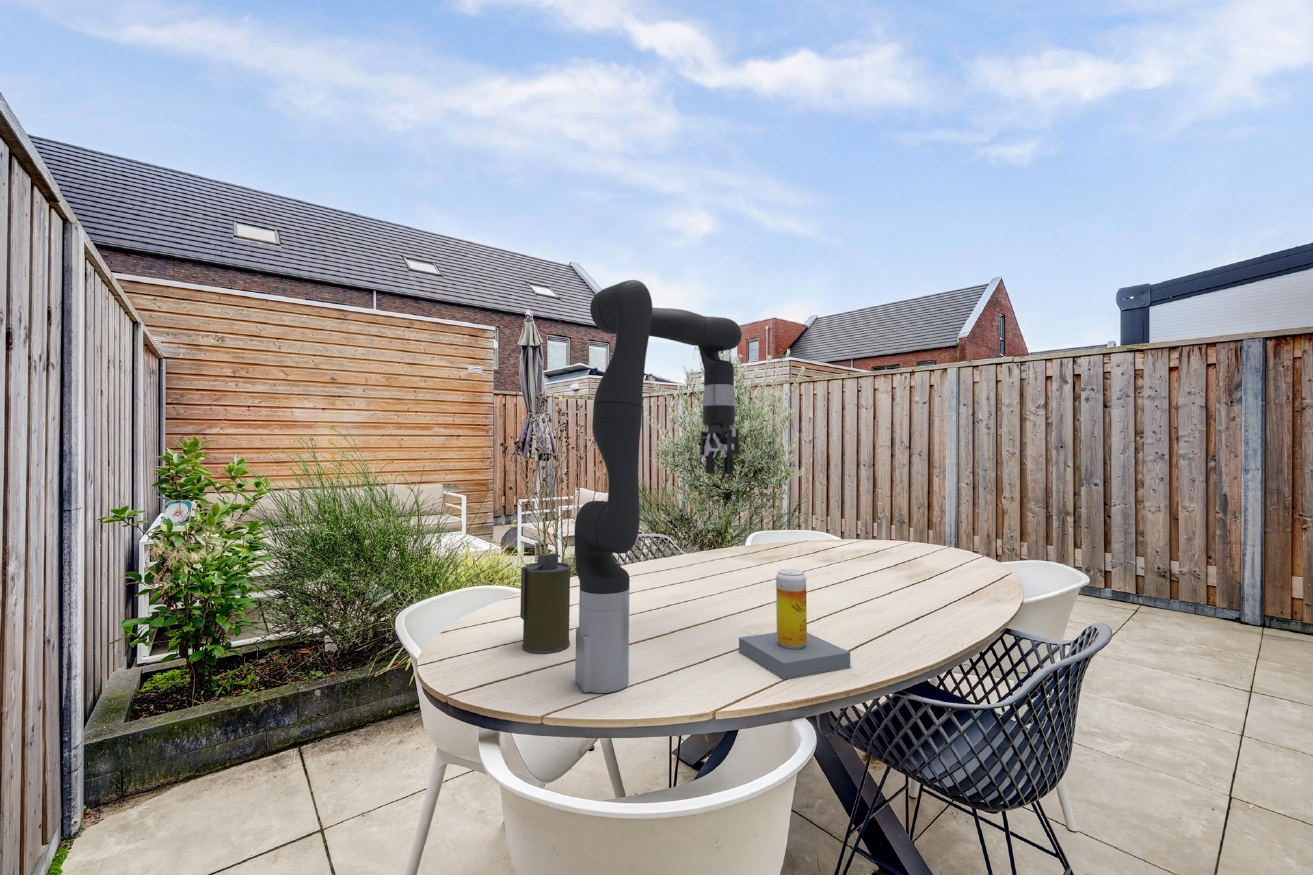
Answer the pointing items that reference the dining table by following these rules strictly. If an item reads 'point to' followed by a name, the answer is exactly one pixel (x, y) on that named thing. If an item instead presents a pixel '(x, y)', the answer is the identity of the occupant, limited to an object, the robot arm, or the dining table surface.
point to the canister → (545, 605)
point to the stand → (794, 655)
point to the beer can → (791, 608)
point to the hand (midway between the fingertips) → (718, 473)
